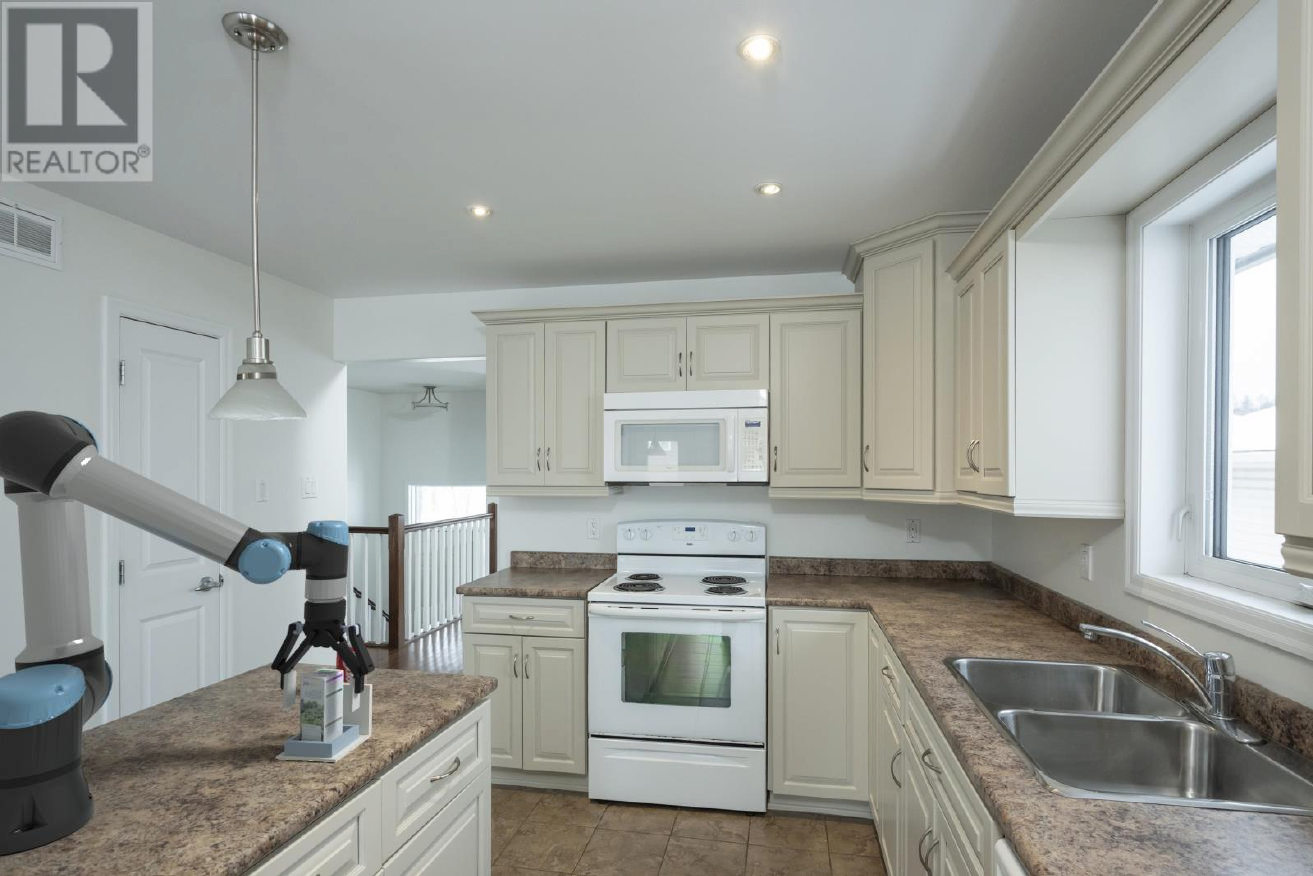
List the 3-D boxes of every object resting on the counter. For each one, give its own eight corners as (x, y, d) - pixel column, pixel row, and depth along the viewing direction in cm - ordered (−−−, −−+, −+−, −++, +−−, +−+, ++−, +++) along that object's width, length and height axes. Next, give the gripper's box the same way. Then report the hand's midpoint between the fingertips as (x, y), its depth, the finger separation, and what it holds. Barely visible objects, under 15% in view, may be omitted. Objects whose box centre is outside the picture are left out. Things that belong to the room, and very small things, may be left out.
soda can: (372, 691, 171) (373, 642, 171) (346, 699, 165) (348, 648, 165) (355, 686, 174) (356, 638, 175) (329, 694, 168) (330, 644, 169)
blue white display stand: (335, 763, 129) (336, 705, 130) (275, 760, 131) (277, 703, 131) (371, 736, 142) (372, 684, 143) (316, 733, 143) (317, 682, 144)
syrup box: (343, 742, 138) (345, 668, 138) (323, 754, 132) (324, 677, 132) (319, 739, 139) (320, 666, 139) (297, 751, 133) (299, 675, 134)
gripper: (394, 597, 139) (390, 704, 138) (279, 593, 142) (274, 698, 141) (375, 605, 132) (371, 718, 130) (254, 600, 134) (249, 711, 133)
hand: (321, 708), depth 136 cm, fingers open, 13 cm apart
